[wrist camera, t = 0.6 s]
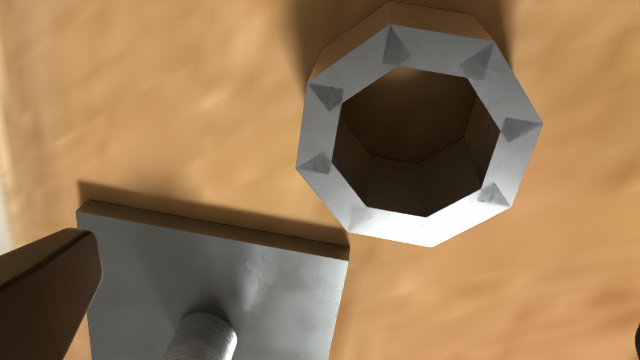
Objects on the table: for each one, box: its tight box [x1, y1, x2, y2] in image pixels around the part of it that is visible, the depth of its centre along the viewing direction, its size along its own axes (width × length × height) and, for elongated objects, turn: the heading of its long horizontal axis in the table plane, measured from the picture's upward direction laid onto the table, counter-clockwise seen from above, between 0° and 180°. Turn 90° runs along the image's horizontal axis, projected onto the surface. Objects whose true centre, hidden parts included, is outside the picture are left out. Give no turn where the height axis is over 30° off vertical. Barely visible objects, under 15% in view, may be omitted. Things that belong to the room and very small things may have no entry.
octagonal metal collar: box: [296, 1, 543, 247], centre depth 17 cm, size 7×7×4 cm
